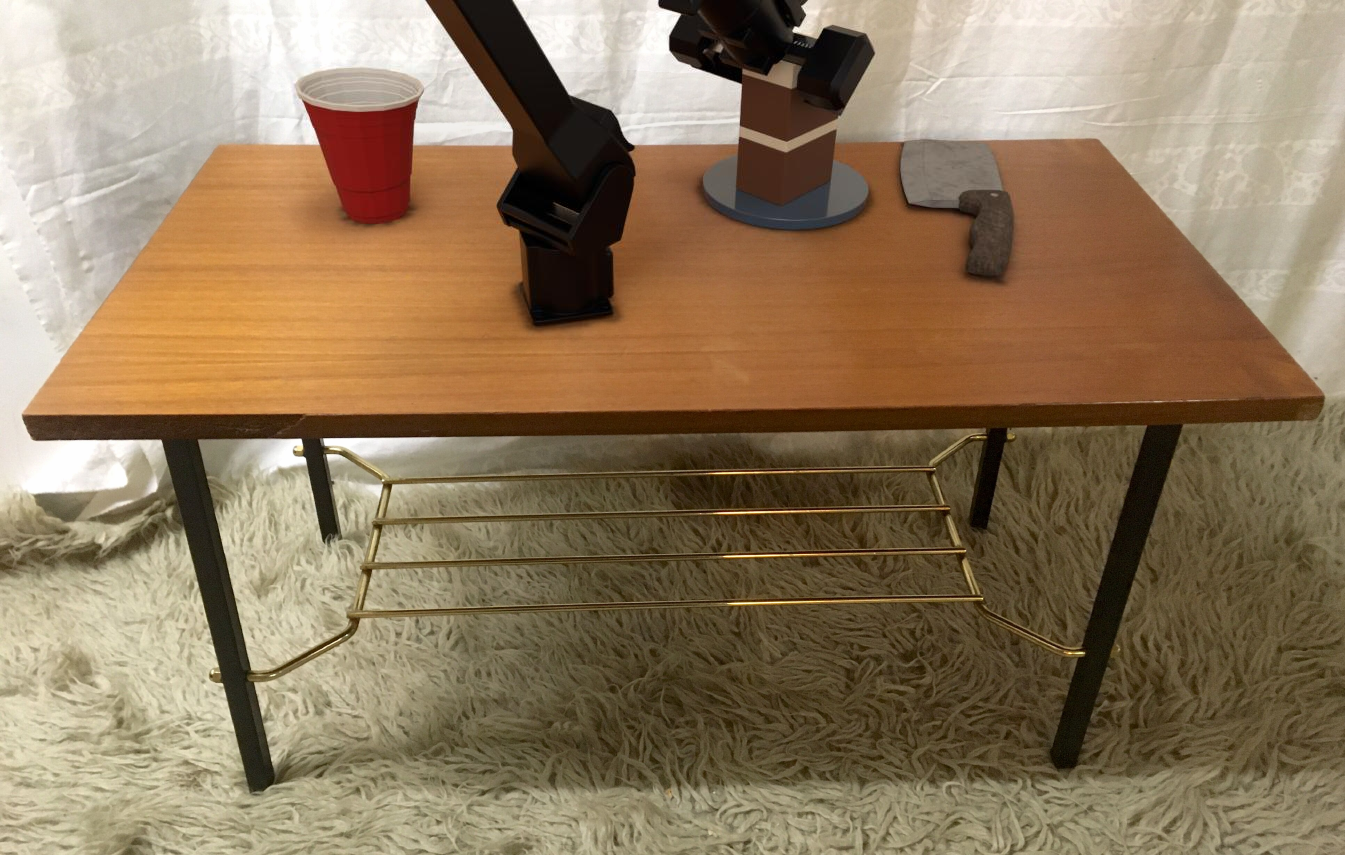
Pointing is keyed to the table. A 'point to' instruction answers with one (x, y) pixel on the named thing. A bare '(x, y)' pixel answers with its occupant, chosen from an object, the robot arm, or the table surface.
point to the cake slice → (782, 137)
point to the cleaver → (963, 194)
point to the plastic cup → (365, 136)
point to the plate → (804, 212)
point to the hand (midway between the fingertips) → (801, 98)
